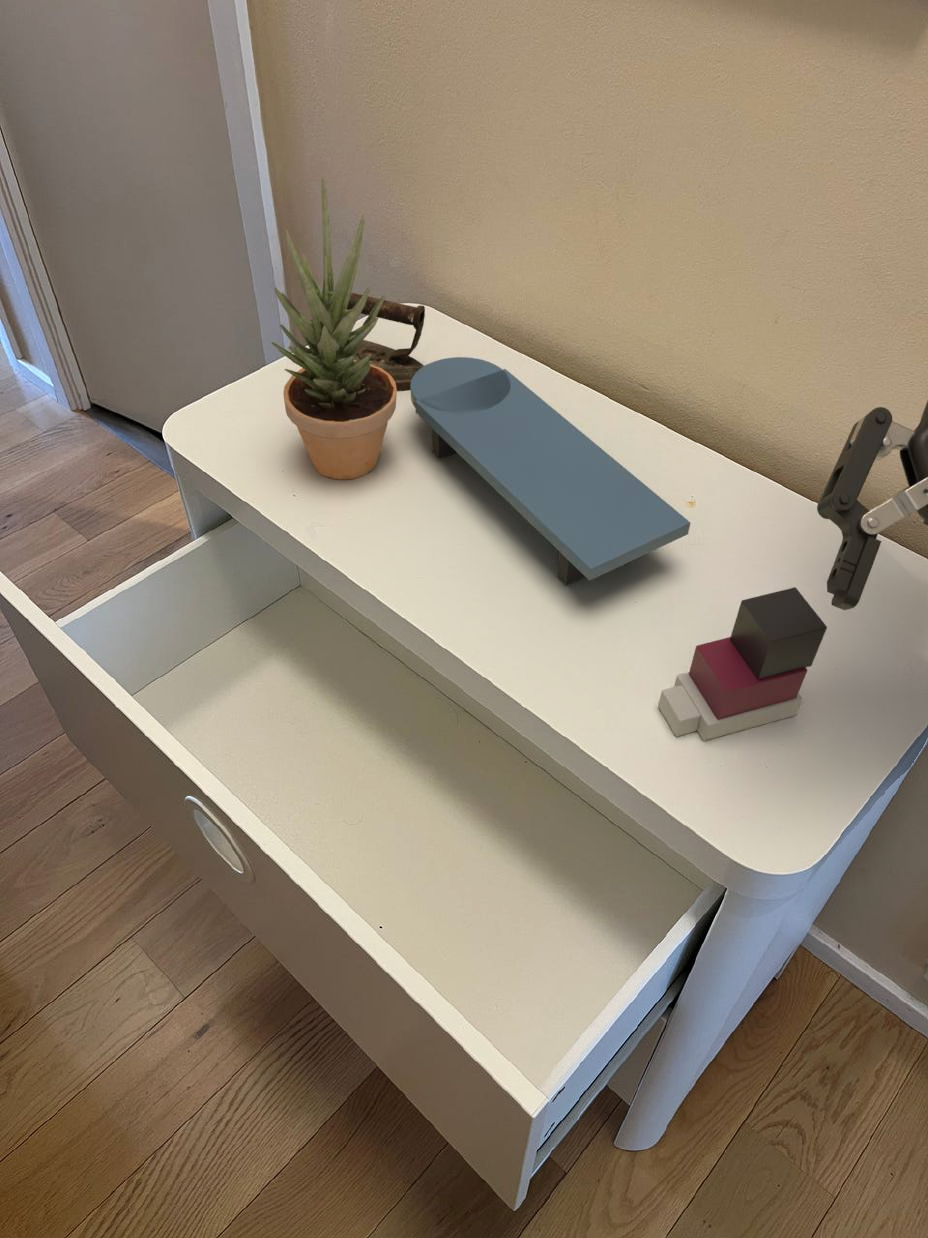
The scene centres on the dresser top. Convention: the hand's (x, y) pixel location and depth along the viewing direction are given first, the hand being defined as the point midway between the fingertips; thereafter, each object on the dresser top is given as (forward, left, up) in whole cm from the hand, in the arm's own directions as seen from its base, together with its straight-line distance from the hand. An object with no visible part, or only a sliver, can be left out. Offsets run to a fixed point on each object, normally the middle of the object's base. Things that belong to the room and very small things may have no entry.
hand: (920, 637), depth 51 cm
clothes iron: (+53, -25, -16) cm, 61 cm away
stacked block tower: (+9, -4, -16) cm, 18 cm away
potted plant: (+48, -12, -16) cm, 52 cm away
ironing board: (+32, -17, -16) cm, 40 cm away
